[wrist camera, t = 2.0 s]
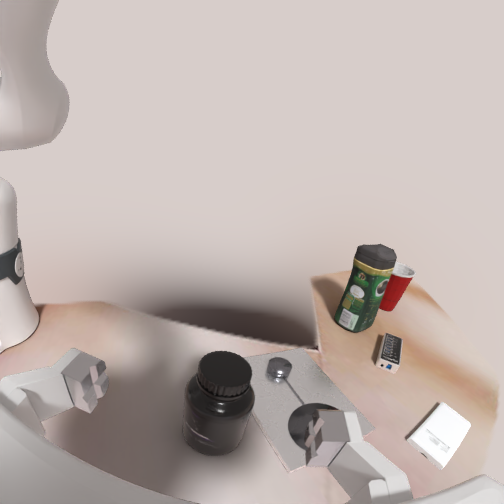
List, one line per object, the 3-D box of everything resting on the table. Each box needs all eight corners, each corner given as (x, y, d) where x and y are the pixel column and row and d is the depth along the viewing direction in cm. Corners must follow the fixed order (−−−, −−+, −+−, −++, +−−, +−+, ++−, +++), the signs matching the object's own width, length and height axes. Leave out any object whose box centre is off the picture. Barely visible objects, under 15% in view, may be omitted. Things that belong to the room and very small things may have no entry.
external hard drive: (466, 430, 26) (438, 472, 20) (437, 407, 33) (403, 442, 26) (472, 424, 26) (445, 466, 19) (442, 400, 32) (409, 436, 26)
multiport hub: (398, 347, 50) (402, 338, 49) (394, 375, 41) (399, 366, 40) (381, 340, 52) (385, 331, 51) (374, 367, 43) (379, 358, 42)
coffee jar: (351, 310, 63) (375, 238, 57) (375, 326, 57) (404, 251, 51) (326, 318, 57) (353, 238, 51) (353, 337, 51) (385, 253, 46)
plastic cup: (359, 296, 72) (372, 256, 68) (386, 297, 74) (400, 260, 70) (378, 316, 62) (395, 273, 58) (407, 316, 64) (423, 276, 60)
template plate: (290, 476, 22) (296, 470, 21) (225, 363, 39) (226, 354, 38) (375, 434, 28) (382, 426, 27) (300, 351, 45) (303, 342, 44)
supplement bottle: (179, 453, 23) (179, 388, 19) (186, 409, 29) (191, 337, 25) (241, 460, 23) (266, 399, 19) (241, 416, 30) (261, 347, 26)
